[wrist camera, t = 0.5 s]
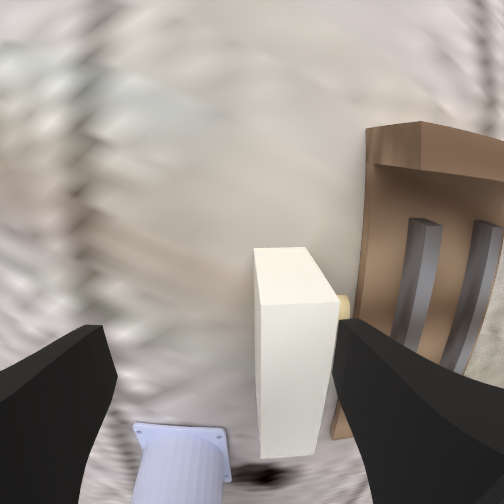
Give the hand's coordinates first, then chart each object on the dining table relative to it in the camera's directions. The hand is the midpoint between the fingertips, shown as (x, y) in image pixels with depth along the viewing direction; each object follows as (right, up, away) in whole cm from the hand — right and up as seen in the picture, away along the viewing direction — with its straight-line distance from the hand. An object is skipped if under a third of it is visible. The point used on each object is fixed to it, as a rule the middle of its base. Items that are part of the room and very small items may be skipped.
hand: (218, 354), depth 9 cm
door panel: (+3, -1, +11) cm, 11 cm away
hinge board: (+14, -1, +11) cm, 17 cm away
